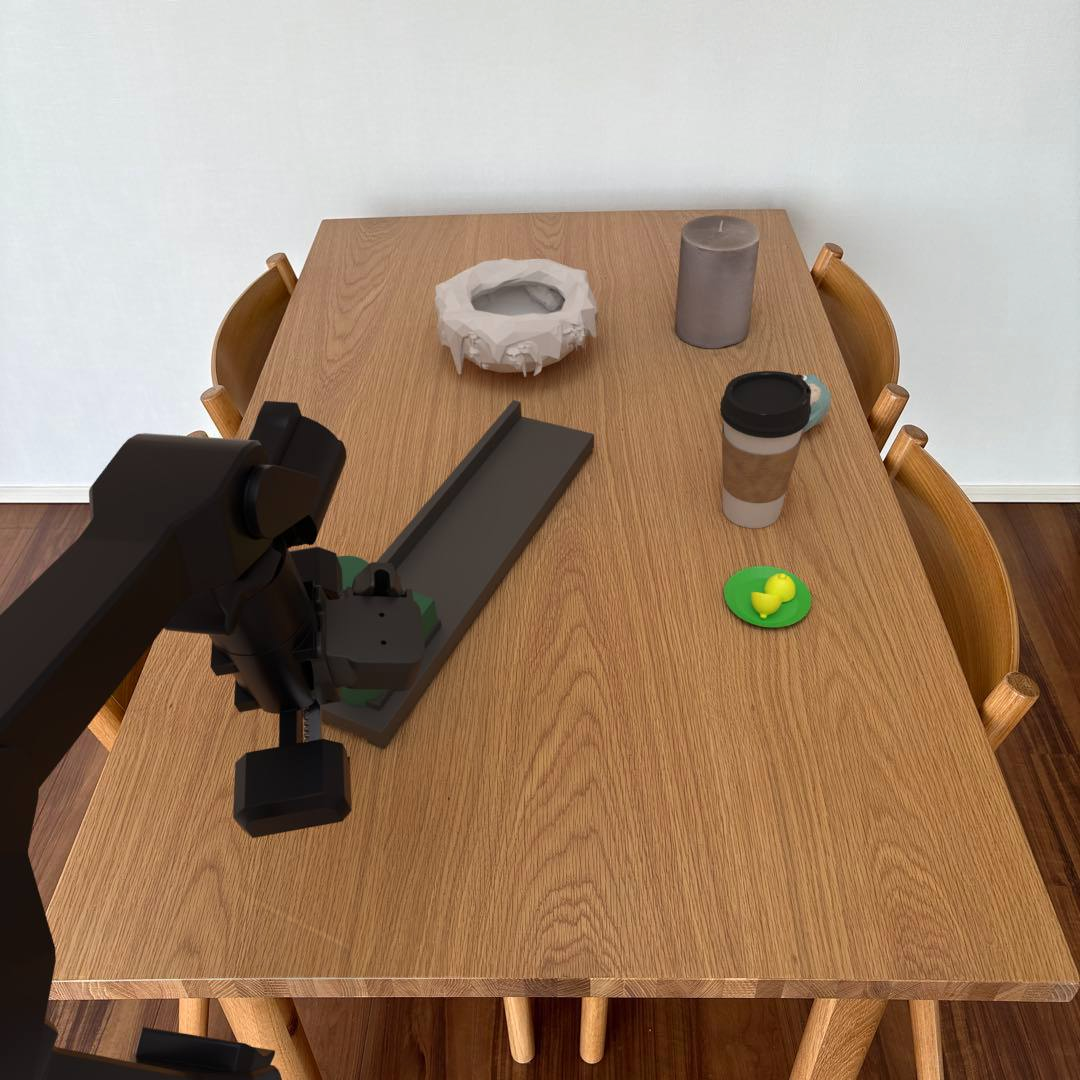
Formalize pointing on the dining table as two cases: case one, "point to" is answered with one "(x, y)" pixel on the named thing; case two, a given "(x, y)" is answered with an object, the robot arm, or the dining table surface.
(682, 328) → the pillar candle
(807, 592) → the green flat round tray
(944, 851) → the dining table surface
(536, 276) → the bowl
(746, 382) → the coffee cup
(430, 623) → the green cylinder on block
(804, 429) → the stuffed animal
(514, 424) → the shoe shelf
